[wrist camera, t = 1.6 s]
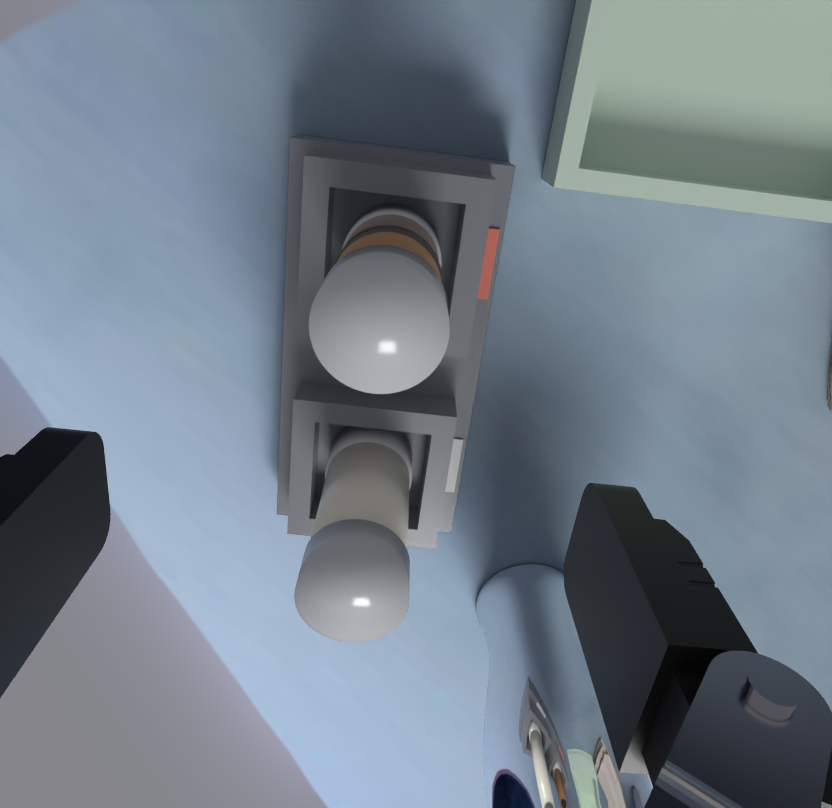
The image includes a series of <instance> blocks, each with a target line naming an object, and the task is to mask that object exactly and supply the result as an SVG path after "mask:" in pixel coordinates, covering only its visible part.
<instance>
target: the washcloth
mask: <svg viewBox="0 0 832 808" xmlns="http://www.w3.org/2000/svg"><path fill="white" fill-rule="evenodd" d="M830 356H831V358H830V368H829V380H828V408H829V410H830V411H831V412H832V343H831V351H830Z"/></svg>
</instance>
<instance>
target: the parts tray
mask: <svg viewBox="0 0 832 808" xmlns="http://www.w3.org/2000/svg"><path fill="white" fill-rule="evenodd" d="M541 179H543V180H544V181H545V182H547V183H548V184H550V185H551V186H553V187H555V188H563V189H571V190H578V191H586V192H594V193H602V194H610V195H617V196H625V197H633V198H641V199H648V200H656V201H664V202H672V203H679V204H687V205H695V206H703V207H711V208H718V209H726V210H734V211H742V212H749V213H757V214H765V215H773V216H780V217H788V218H796V219H804V220H812V221H819V222H827V223H832V0H576V3H575V8H574V13H573V18H572V24H571V29H570V34H569V39H568V44H567V49H566V54H565V60H564V65H563V70H562V75H561V80H560V85H559V91H558V96H557V101H556V106H555V111H554V116H553V122H552V127H551V132H550V137H549V142H548V147H547V152H546V158H545V163H544V168H543V173H542V178H541Z"/></svg>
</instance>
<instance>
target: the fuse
mask: <svg viewBox="0 0 832 808" xmlns="http://www.w3.org/2000/svg"><path fill="white" fill-rule="evenodd" d="M411 483H412V450H411V446H410V444H409V442H408V440H407V438H406V437H405V436H404V434H403V433H402V432H400V431H391V430H382V429H373V428H364V427H355V426H347V427H345V428H344V429H343V430H341V431H340V432H339V433H338V435H337V436H336V437H335V439H334V441H333V443H332V447H331V450H330V454H329V458H328V462H327V466H326V471H325V483H324V487H323V491H322V495H321V499H320V503H319V507H318V511H317V515H316V519H315V523H314V527H313V531H312V535H311V539H310V541H309V542H308V544H307V546H306V549H305V552H304V556H303V560H302V564H301V568H300V572H299V576H298V580H297V584H296V588H295V594H294V595H295V604H296V608H297V610H298V613H299V614H300V616H301V618H302V619H303V620H304V622H305V623H306V624H307V625H308V626H309V627H311V628H312V629H313V630H314V631H316V632H317V633H319V634H321V635H323V636H325V637H327V638H330V639H333V640H337V641H341V642H350V643H359V642H367V641H372V640H376V639H378V638H381V637H383V636H385V635H387V634H389V633H390V632H392V631H393V630H394V629H395V628H397V627H398V626H399V624H400V623H401V622H402V621H403V619H404V617H405V615H406V613H407V610H408V606H409V577H410V559H409V554H408V518H409V490H410V488H411Z"/></svg>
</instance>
